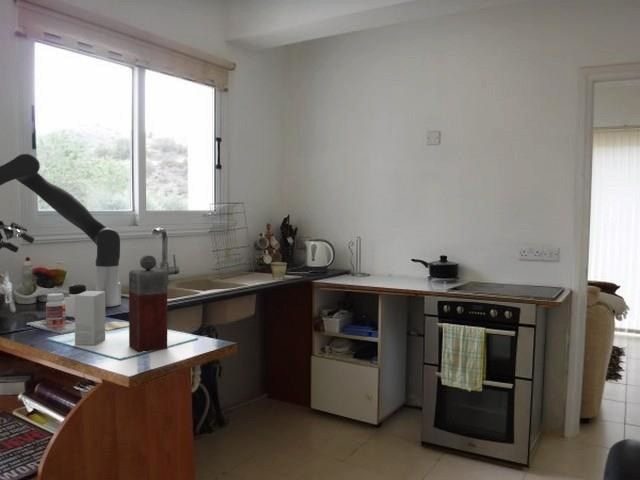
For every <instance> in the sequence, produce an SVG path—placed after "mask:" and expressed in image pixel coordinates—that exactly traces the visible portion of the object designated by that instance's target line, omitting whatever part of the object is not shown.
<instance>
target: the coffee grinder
mask: <svg viewBox="0 0 640 480" xmlns="http://www.w3.org/2000/svg"><path fill="white" fill-rule="evenodd" d="M139 263H140V264H139V265H140V267H141V268H142V269H132V270H130V271H129V273H128V324H129V327H128V345H129V346H128V347H130V349H132V350H134V351H135V352H136V351H137V352H136V353H144V352H143V351H146V352H152V351H159V350H165V349H168V273H167V271H165V270H162V269H158V268H155V267H156V265H157V260H156V258H155V257H154V256H153V255H148V254H145V255H142V257H141V258H140V261H139Z"/></svg>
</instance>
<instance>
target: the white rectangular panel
mask: <svg viewBox="0 0 640 480" xmlns="http://www.w3.org/2000/svg"><path fill="white" fill-rule="evenodd" d="M28 325H30V326H29V327H32V326H33V328H37V329H40V330H45V331H48V332H53V333H57V334H60V335H61V334H62V335H63V334H69V333H73V332H74V333H75V321H72V320H67V319H66V324H65V325H60V326H55V327H49V326H46V319H42V320H35V321H31V322H26V326H28Z"/></svg>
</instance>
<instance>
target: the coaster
mask: <svg viewBox="0 0 640 480" xmlns="http://www.w3.org/2000/svg"><path fill="white" fill-rule="evenodd" d="M124 328H129V323H126V322H125V323H124V322H121V321H116V320H115V321H109V322H105V332H108V331H109V332H110V331H114V330H118V329H124Z"/></svg>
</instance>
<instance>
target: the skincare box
mask: <svg viewBox="0 0 640 480" xmlns="http://www.w3.org/2000/svg"><path fill="white" fill-rule="evenodd" d="M74 322H75V332H74V345H75V346H96V345H97V344H99V343H101V342H102V341H104V340H105V339H106V331H105V323H106V307H105V291H96V290H86V291H85V292H83V293H80V294H77V295H75V318H74Z"/></svg>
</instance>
